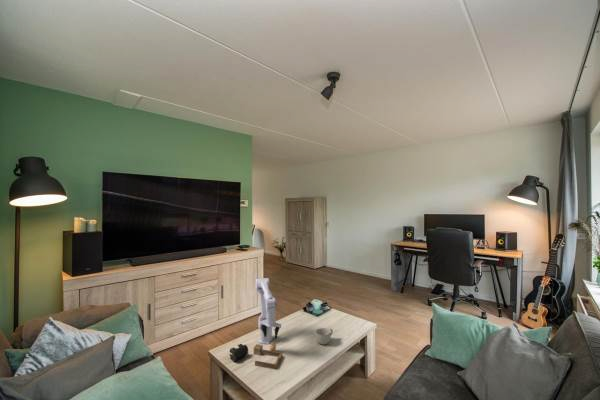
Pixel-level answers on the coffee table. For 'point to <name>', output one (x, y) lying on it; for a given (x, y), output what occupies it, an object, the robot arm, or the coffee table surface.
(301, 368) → the coffee table surface
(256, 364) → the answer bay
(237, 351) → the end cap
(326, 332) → the teacup
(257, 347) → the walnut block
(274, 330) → the robot arm
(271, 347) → the tan rounded capsule
